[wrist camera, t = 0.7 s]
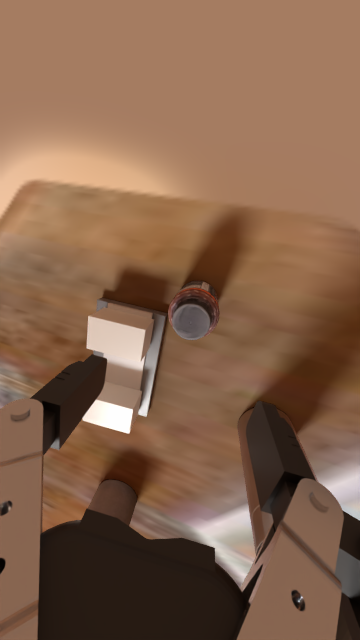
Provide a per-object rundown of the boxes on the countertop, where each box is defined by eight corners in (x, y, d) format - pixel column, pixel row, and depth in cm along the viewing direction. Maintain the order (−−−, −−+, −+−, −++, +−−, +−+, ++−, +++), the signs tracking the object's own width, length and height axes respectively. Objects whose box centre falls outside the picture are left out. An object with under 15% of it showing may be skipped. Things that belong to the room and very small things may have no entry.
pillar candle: (141, 508, 50) (114, 610, 36) (104, 507, 52) (64, 603, 38) (130, 478, 47) (96, 574, 33) (92, 478, 49) (43, 569, 35)
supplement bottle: (217, 317, 33) (220, 350, 22) (179, 318, 34) (164, 349, 23) (217, 278, 31) (220, 294, 20) (177, 280, 32) (159, 295, 21)
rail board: (148, 410, 40) (137, 439, 34) (94, 395, 41) (73, 421, 35) (167, 313, 34) (157, 327, 28) (102, 297, 34) (78, 308, 28)
